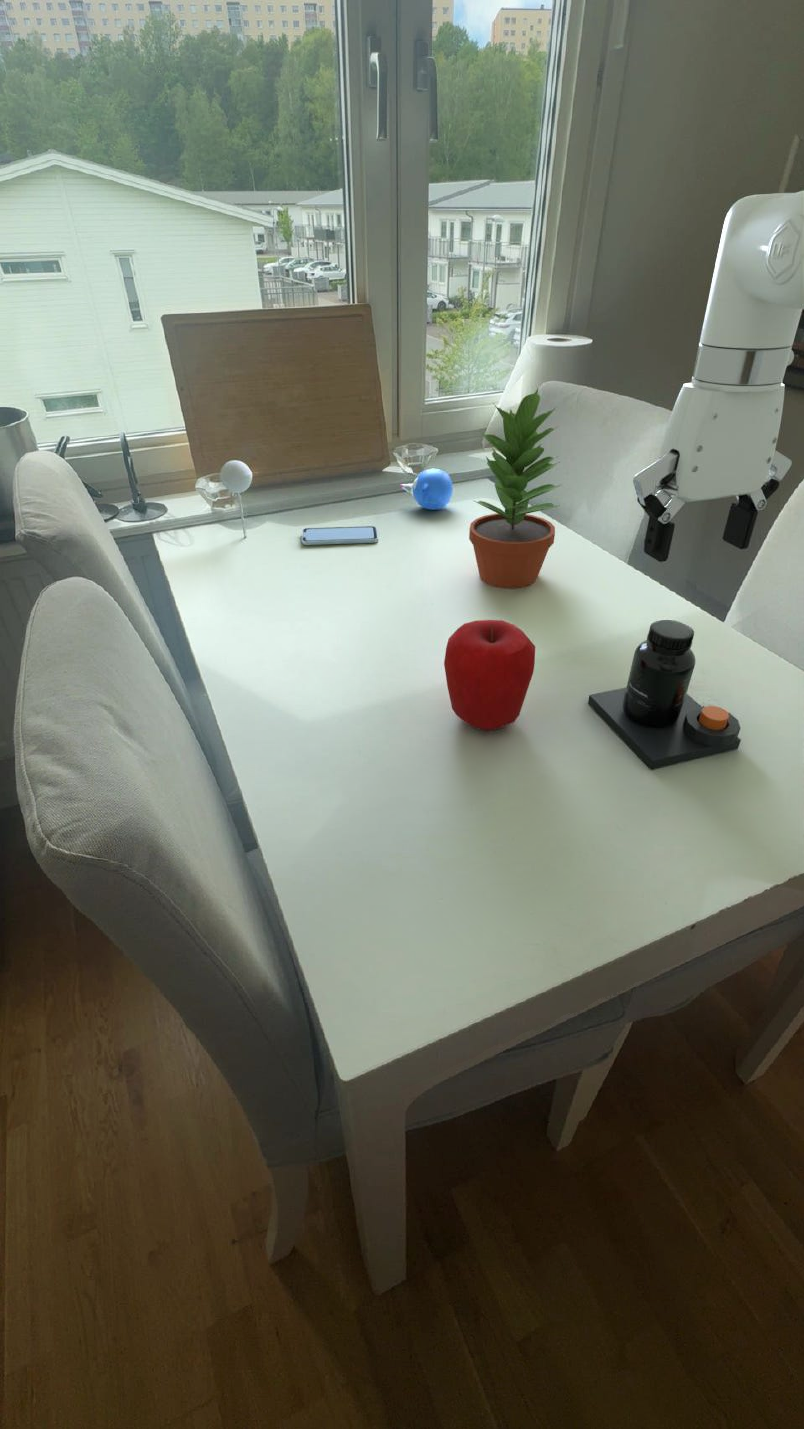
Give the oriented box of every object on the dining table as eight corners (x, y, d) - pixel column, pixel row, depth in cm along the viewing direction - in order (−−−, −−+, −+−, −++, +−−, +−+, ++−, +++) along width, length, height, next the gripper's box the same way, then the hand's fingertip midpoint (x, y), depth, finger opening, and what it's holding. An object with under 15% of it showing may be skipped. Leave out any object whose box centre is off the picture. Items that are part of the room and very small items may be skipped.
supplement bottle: (615, 720, 83) (634, 634, 76) (628, 692, 88) (646, 609, 81) (674, 736, 80) (698, 648, 73) (683, 706, 85) (707, 621, 78)
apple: (428, 726, 85) (429, 631, 77) (468, 688, 92) (473, 597, 84) (504, 755, 80) (514, 657, 72) (540, 713, 87) (553, 618, 79)
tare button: (731, 728, 79) (735, 717, 79) (709, 733, 79) (713, 722, 78) (714, 714, 82) (717, 703, 81) (693, 718, 81) (696, 708, 80)
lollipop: (224, 540, 136) (211, 464, 127) (238, 530, 140) (226, 455, 131) (252, 544, 134) (241, 466, 125) (265, 533, 139) (255, 457, 130)
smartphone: (378, 539, 133) (301, 541, 132) (378, 543, 134) (301, 546, 133) (376, 525, 139) (302, 528, 138) (376, 529, 140) (303, 532, 139)
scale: (743, 750, 80) (751, 730, 78) (653, 772, 77) (658, 752, 75) (669, 686, 91) (674, 667, 90) (587, 703, 88) (590, 684, 87)
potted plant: (457, 589, 116) (464, 400, 99) (478, 555, 128) (487, 381, 110) (544, 600, 112) (567, 406, 95) (557, 565, 124) (580, 385, 106)
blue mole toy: (408, 496, 156) (407, 459, 151) (458, 501, 153) (459, 463, 148) (391, 514, 147) (390, 474, 142) (444, 519, 144) (444, 479, 139)
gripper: (787, 356, 66) (739, 528, 75) (630, 368, 61) (602, 549, 71) (850, 367, 60) (790, 552, 70) (682, 381, 56) (643, 576, 65)
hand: (695, 550), depth 70 cm, fingers open, 9 cm apart
